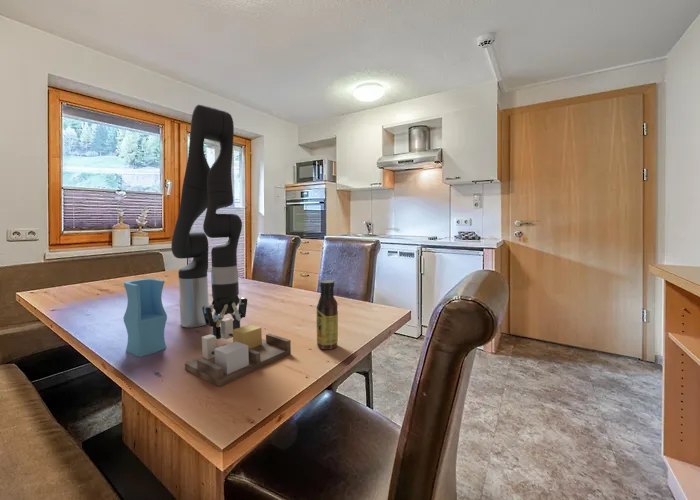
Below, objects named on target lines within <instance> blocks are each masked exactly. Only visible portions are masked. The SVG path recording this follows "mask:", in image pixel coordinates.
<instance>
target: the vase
mask: <svg viewBox="0 0 700 500" xmlns="http://www.w3.org/2000/svg"><path fill="white" fill-rule="evenodd" d="M164 285H165V280H162V279H157V278H143V279H137V280H130V281H129V280H128V281H123V286H124V290H125V291H126V296H127V297H126V298H127V306H126V310H125V312H124V315H123V322H124V325H125V328H126V333H127V345H126V349H125V352H127V353H129V354H131V355H133V356H135V357H144V356H145V357H146V356H148V355H151V354H154V353H157V352H160V351H163V350H166V349H167V345H166V344H167V343H166V340H165V328H166V324H167V320H168V315H167V312H166V311H165V307H164V305H163V302H162V294H163V288H164Z"/></svg>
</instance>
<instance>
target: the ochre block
mask: <svg viewBox="0 0 700 500" xmlns="http://www.w3.org/2000/svg"><path fill="white" fill-rule="evenodd" d="M233 320H234V319H233V318H232V319H231V318H229V317H227V318H223V319H222V320H221V323H220V327H221V338H220V339H224V340H228V339H231V338H232V342H235V341H237V342H240V343H242V344H245V345H248V348H249V349H251V348H254V347H256V346H259V345H261V344H262V338H263V336H262V335H263V334H262V327H260V326H257V325H255V324H251V323H250V324H247V325H244V326H240V328H237V329H234V330H233Z"/></svg>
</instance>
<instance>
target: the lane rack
mask: <svg viewBox="0 0 700 500" xmlns="http://www.w3.org/2000/svg"><path fill="white" fill-rule="evenodd" d="M291 344H292V343H291V339H288V338H285V337H281V336H278V335H276V334H272V333H266V334H265V339H262V344H261V345H259V346H256V347H254V348H251V349H249V348H248V354H249V365H248V366H246V367H243V368H241V369H239V370H236V371H234V372H232V373H230V374H225V373H223V368H222V367H220V366H218V365H216V364H215V357H213V358H211V359H206V358H203V356H201V357H198V358H195V359H192V360H190V361H187V362H184V370H186V371H189V372H190V373H193V374H195V375H196V376H197V377H200V378H202V379H203V380H205V381H207V382H209V383H211V384H213V385H214V386H216V387H217V388H220V387H222V386H225V385H226V384H228V383H231V382H234V380H235V381H236V380H237V379H239V378H241V377H243V376H246V375H248V374H250V373H252V372H254V371H257V370H259V369H262V368H263V367H265V366H267V365H270V364H272V363H275V362H276V361H279V360H281V359H283V358H285V357H287V356H290V355H291V354H292V353H291V352H292V350H291V349H292V347H291V346H292V345H291Z"/></svg>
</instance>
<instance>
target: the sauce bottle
mask: <svg viewBox="0 0 700 500" xmlns="http://www.w3.org/2000/svg"><path fill="white" fill-rule="evenodd" d="M319 283H320V284H319V286H320V296H319V300H318V303H317V305H316V343H317V347H318V348H319V350H326V351H327V350H328V351H329V350H333V349H336V348H337V346H338V339H339V338H338V336H339V330H338V329H339V325H338V324H339V317H338V316H339V313H338V312H339V311H338V308H339V307H338V302H337V300H336V298H335V294H334V288H335V281H334V280H332V279H324V280H320V281H319Z"/></svg>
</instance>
